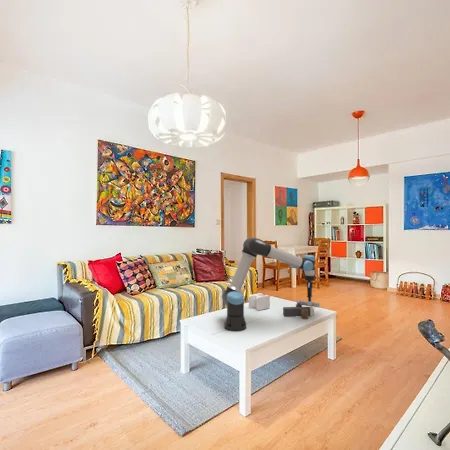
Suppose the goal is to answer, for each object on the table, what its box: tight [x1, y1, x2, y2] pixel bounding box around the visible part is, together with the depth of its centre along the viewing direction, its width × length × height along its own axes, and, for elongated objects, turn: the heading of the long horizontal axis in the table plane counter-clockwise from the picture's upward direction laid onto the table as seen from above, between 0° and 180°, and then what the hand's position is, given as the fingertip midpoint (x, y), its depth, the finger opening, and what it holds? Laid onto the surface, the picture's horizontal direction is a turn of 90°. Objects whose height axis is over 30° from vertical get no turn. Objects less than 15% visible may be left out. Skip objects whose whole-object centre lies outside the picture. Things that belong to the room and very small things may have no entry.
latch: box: [296, 299, 321, 308], centre depth 226 cm, size 3×18×3 cm, turn 61°
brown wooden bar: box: [295, 303, 309, 320], centre depth 222 cm, size 4×17×6 cm, turn 3°
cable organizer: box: [248, 292, 271, 311], centre depth 241 cm, size 15×11×12 cm
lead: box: [282, 306, 315, 318], centre depth 222 cm, size 23×5×6 cm, turn 93°
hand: (309, 305), depth 223 cm, fingers closed
